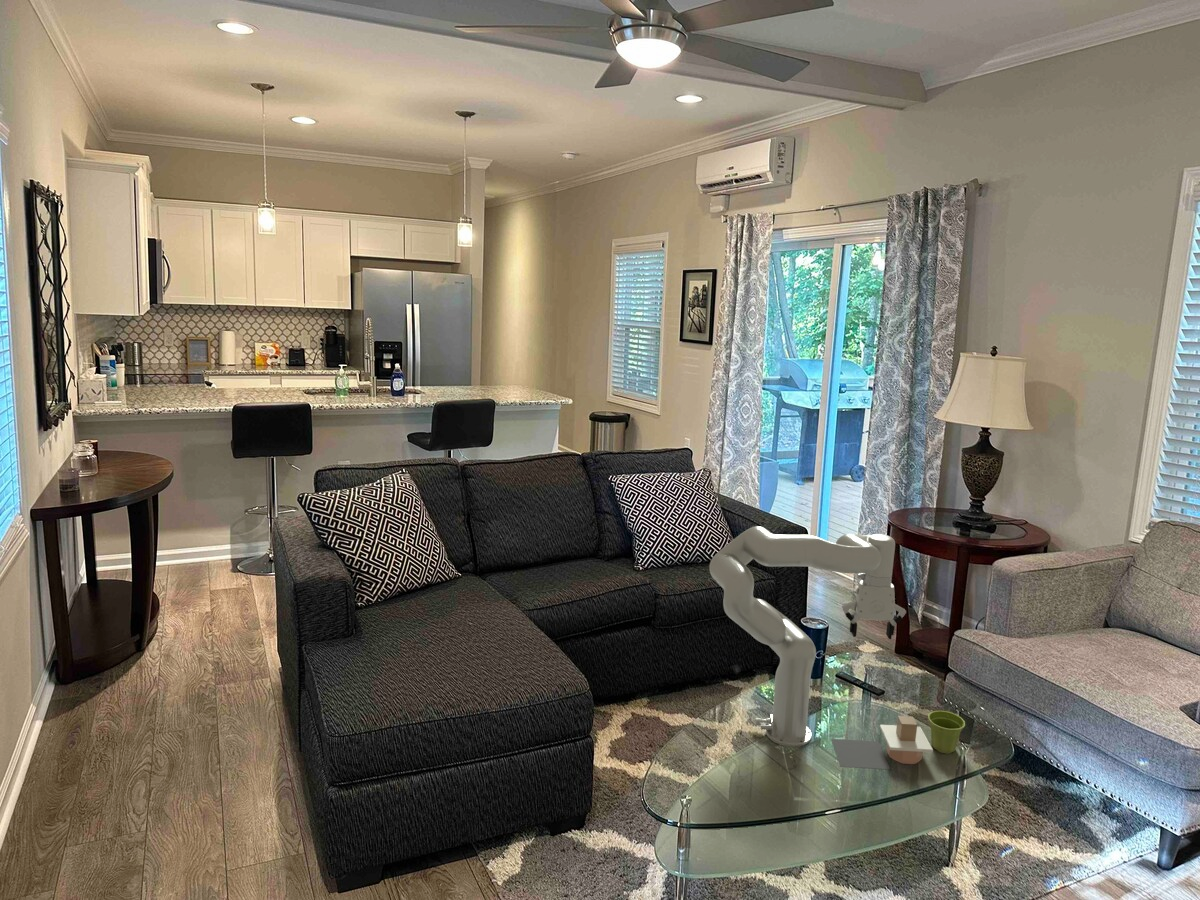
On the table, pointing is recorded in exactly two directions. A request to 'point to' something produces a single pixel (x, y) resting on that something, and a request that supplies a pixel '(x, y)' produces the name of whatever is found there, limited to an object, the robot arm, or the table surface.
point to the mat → (860, 754)
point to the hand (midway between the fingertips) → (871, 635)
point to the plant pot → (945, 730)
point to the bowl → (905, 756)
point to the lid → (905, 736)
